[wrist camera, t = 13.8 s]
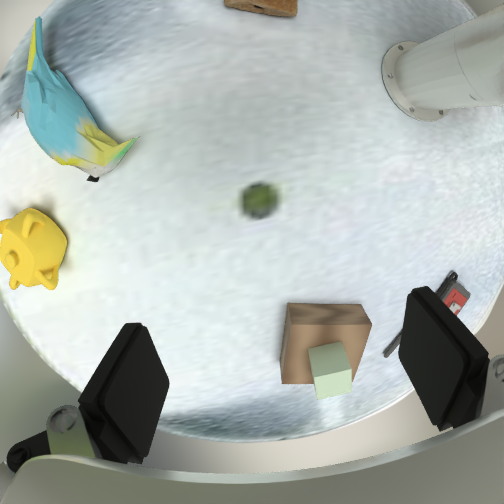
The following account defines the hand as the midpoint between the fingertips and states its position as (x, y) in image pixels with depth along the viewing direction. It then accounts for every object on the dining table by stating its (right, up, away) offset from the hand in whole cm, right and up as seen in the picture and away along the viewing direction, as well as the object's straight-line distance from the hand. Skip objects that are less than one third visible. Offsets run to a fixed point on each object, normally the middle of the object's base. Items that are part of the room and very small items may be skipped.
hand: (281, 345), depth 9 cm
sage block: (+10, -13, +31) cm, 35 cm away
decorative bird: (-24, +26, +23) cm, 43 cm away
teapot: (-37, +6, +31) cm, 49 cm away
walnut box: (+10, -10, +36) cm, 39 cm away
